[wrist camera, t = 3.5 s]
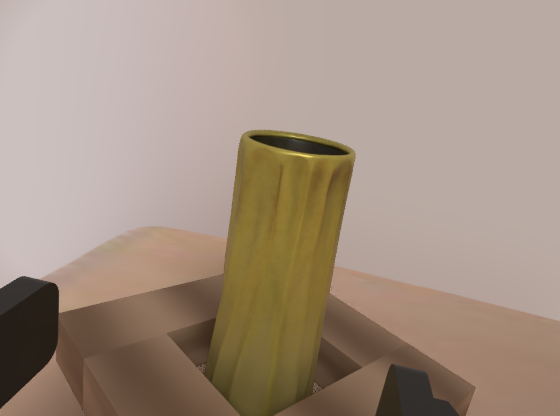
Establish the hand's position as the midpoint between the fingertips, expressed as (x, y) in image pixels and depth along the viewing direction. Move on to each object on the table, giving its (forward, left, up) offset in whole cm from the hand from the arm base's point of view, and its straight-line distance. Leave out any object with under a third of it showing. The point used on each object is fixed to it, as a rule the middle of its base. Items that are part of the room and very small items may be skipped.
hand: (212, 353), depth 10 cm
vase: (-9, -7, -11) cm, 16 cm away
